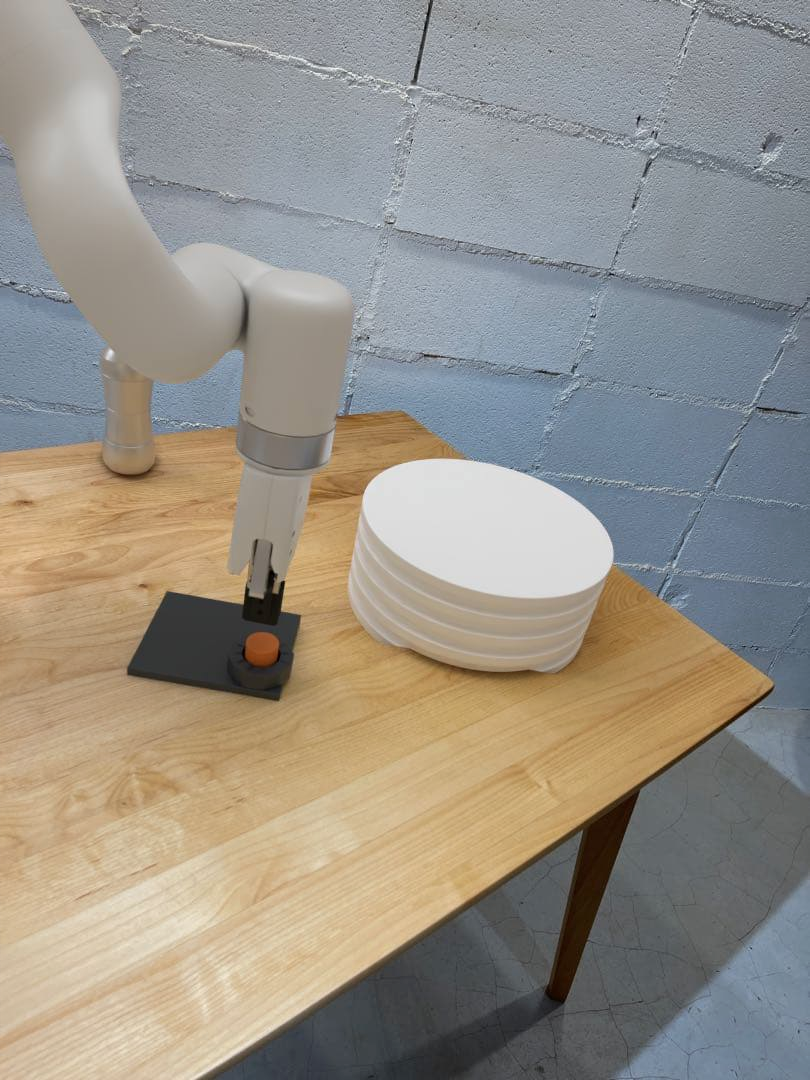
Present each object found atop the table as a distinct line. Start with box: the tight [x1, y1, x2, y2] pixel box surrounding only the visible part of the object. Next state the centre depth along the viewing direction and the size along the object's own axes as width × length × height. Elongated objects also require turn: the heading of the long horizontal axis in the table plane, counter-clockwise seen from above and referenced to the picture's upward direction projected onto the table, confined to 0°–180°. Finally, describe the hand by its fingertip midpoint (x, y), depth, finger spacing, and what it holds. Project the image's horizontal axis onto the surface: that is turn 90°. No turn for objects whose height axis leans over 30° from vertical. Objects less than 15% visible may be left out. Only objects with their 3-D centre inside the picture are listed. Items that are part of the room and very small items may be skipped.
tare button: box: [245, 632, 279, 667], centre depth 76 cm, size 3×3×2 cm
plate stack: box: [346, 458, 615, 675], centre depth 92 cm, size 28×28×12 cm
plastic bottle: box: [99, 344, 157, 476], centre depth 101 cm, size 6×7×20 cm
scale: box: [126, 590, 302, 702], centre depth 79 cm, size 14×12×4 cm
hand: (261, 617), depth 74 cm, fingers closed
